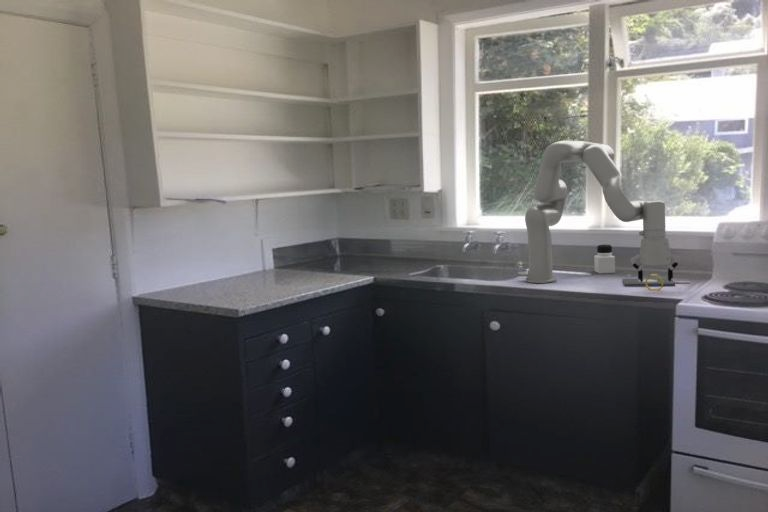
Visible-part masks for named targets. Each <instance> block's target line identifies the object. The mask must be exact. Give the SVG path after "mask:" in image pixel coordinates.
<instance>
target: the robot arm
mask: <svg viewBox="0 0 768 512" xmlns="http://www.w3.org/2000/svg"><path fill="white" fill-rule="evenodd" d="M541 157H542V158H541V162H540V168H539V171H538V175H537V180H536V182H535V187H534V193H533V194H534V198H535V199H536V201H538V202H539V203H543V204H535V205H532V206H531V207H529V208H528V210H526V212H525V215H524V222H525V226H526V230H527V231H526V232H527V244H528V246H527V248H528V250H527V251H528V270H525V271H518V272H517V276H518V277H525V278H524V279H525V282H526V283H531V284H546V283H549V284H550V283H554V282H556V281H558V280H557V277H556V276H554V275H553V244H552V242H553V241H552V234H551V230H550V227H553V226H555V225H557V224H558V223H559V222H560V221H561V220H562V216H563V212H564V208H565V205H566V201H567V197H568V187H567V184H566V182H565V181H564V180H563V179H561V174H562V163H583V164H585V165H586V166H587V167H588V169H589V170H590V171H591V174H592V175H593V176H594V177H595V179H596V180H597V182H598V183H599V184H600V186H601V189H602V194H603V197H604V201H605V203H606V204H607V206H608V208H609V209H610V210H611V212H612V213H613V215H614V216H615V217H616V218H617V219H618V220H619V221H621V222H624V223H630V222H636V221H640V220H642V227H643V228H642V229H643V230H642V231H639V232H638V236H641V237H642V238H641V240H640V248H639V253H638V254H637V255H635V256H633V257H631V258H629V261H630V263H631V265H632V266H633V267H634V268H635V270H637V279H640V281H641V282H642V281H643V279H644V272H643V268H644V267H658V266H659V267H660V266H663V267H664V266H665V267H668V269H667V278H668V280H669V281H671V279H674V277H673V276H674V273H673V272H674V269H675V268H676V267H677V266H679V263H680V262H681V260H682V259H681V257H680V256H679V255H675V254H674V253H671V248H670V240H669V238H668V237H666V236H667V235H666V204H665V203H666V202H664V201H663V200H661V199H659V200H658V199H655V200H654V199H653V200H642V199H640V200H639V199H633V200H629V198H628V197H627V196H626V194H625V193H624V191H623V189H622V187H621V186H622V185H621V181H622V177H623V175H622V172H621V171H620V169H619V168H618V167H617V165H616V164H615V162H614V160H615V151H614V149H613V148H612V147H611V146H610V145H608V144H606V143H605V144H603V143H597V142H590V141H585V140H570V139H569V140H559V141H554V142H552V143H550V144H549V145H548V146H546V148H545V149H544V151H543V153H542V156H541ZM671 258H672V259H674V262H673V263H672V264H671ZM638 259H639V260H640V261H639V262H640V263H639V265H638V264H637V263H636V261H637V260H638Z"/></svg>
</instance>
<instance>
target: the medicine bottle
mask: <svg viewBox="0 0 768 512" xmlns="http://www.w3.org/2000/svg"><path fill="white" fill-rule="evenodd" d="M596 248H597V252H596V253H597V254H595V255H593V256H594V258H593V260H594V261H593V262H594V272H595V273H598V274H601V275H602V274H615V273H616V256H614V255H613V246H612V245H611V244H598V245H597V247H596Z"/></svg>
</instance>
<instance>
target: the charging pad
mask: <svg viewBox="0 0 768 512" xmlns="http://www.w3.org/2000/svg"><path fill="white" fill-rule="evenodd" d="M647 278H648V277H647ZM647 278H643V281H642V282H641V281H640V279H638V278H622V284H623V287H646V279H647ZM661 278H662V280H663V286H662V281H661V280H660V278H658V277H650V278H649V279H648V280H647V285H648V287H661V286H662V287H676V284H691V283H692V281H690V280H689V281H688V280H686V281H685V280H684V281H683V280H678V281H676V280H675V281H674V280H673V278H671V281H669V280H668V277H667V278H666V277H665V278H663V277H661Z"/></svg>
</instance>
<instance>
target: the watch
mask: <svg viewBox="0 0 768 512" xmlns="http://www.w3.org/2000/svg"><path fill="white" fill-rule="evenodd" d="M649 278H660V280H661V281H662V286H660V287H659V288H650V286H648V285H647V280H648V279H649ZM662 278H663V277H661V276H660V275H659V273H658V274H657V273H650V275H649V276H648V277H647V279H646V278H645V279H646V286H645V287H646V288H647V289H648V290H649V291H660V290H661V289H662V288H663V287H664V286H663V280H662Z"/></svg>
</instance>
